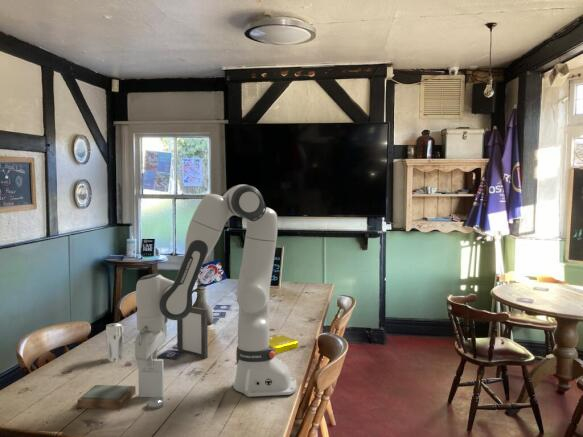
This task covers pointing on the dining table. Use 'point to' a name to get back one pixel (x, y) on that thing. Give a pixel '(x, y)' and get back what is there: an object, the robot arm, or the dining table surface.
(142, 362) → the external hard drive
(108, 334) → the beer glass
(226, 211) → the robot arm
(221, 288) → the dining table surface
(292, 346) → the element tile
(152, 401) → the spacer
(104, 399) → the mirror
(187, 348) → the picture frame
